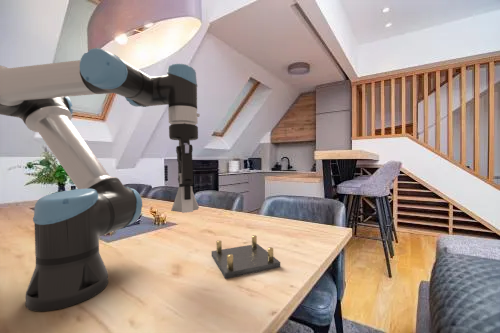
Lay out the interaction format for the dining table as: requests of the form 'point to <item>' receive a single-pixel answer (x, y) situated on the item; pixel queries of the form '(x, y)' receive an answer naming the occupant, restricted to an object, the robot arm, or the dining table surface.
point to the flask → (178, 202)
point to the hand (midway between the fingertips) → (185, 209)
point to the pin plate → (244, 259)
